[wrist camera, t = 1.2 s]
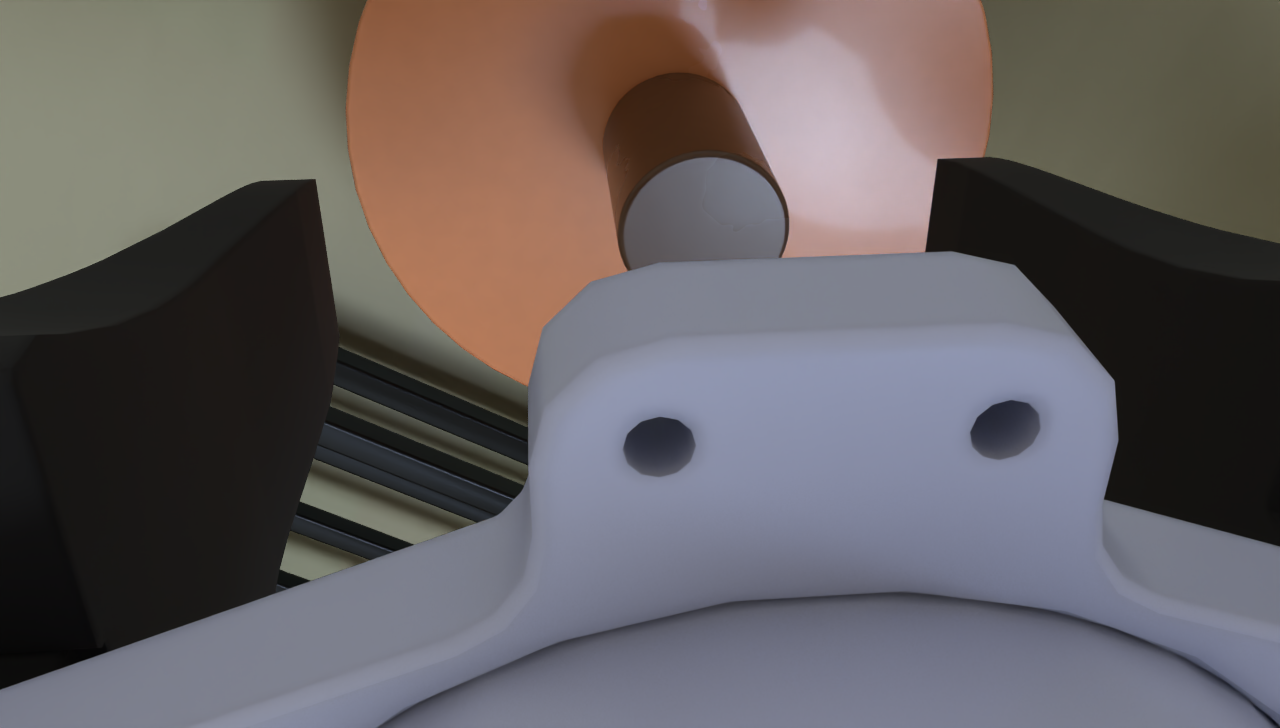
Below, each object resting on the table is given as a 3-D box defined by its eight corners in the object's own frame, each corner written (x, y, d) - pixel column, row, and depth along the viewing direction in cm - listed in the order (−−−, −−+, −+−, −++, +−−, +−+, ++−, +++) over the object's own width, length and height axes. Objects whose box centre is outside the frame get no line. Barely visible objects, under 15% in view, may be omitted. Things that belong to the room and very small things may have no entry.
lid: (1099, -1, 20) (1246, 86, 16) (756, 459, 24) (803, 619, 20) (540, -379, 16) (544, -392, 12) (256, 235, 21) (191, 375, 17)
